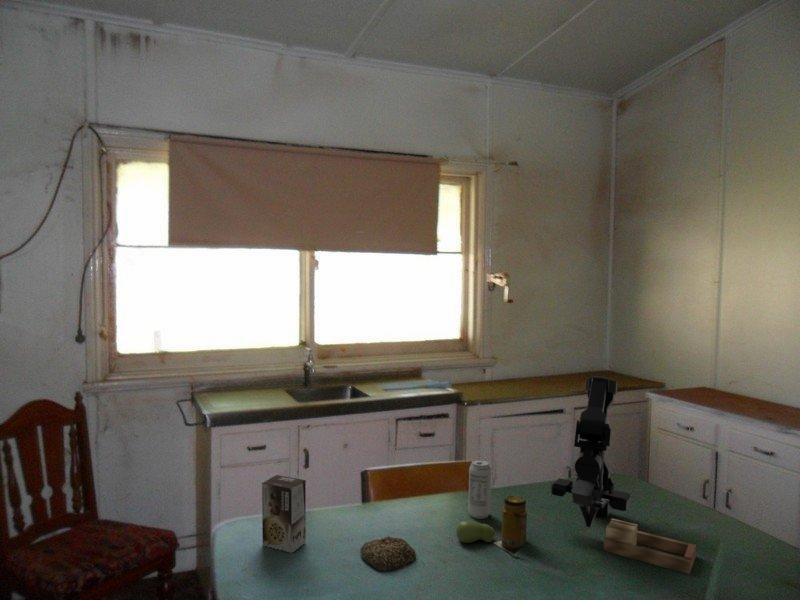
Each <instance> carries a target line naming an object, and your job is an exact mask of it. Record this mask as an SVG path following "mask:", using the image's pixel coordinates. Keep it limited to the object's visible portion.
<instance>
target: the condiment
mask: <svg viewBox="0 0 800 600" xmlns="http://www.w3.org/2000/svg"><path fill="white" fill-rule="evenodd" d="M503 502H504V504H503V508H502V511H501V512H502V513H501V536H500V537H501V540H498V541H495V542H493V544H494V545H496V546H497V547H499V548H500V549H502V550H504V551H506V552H507V553H509V554H510V555H512V556H513V557H515V558H517V557H518V556H516V555H515V554H516V553H518V551H519V550H521V548H522V547H523V546H524V545H526V543H527V526H528V525H527V521H528V512H527V510H526V509H527V506H526V503H527V501H526V499H525V498H524V497H522V496H518V495H508V496H505V498H504V500H503Z"/></svg>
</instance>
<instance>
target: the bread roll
mask: <svg viewBox="0 0 800 600" xmlns="http://www.w3.org/2000/svg"><path fill="white" fill-rule="evenodd" d="M360 554H361V557H362V559H363V560H364V561H365V562H366V563H367V564H369V565H370V566H372V567H373V568H375V569H376V570H379V571H381V572H382V571H383V572H384V571H393V570H396V569H400V568H403V567H405V566H406V565H409V564H410V563H412V562H414V561H415V559H416V556H417V553H416V550H415V549H414V548H413V547H412V546H411V545H410V544H409V543H408V542H407V541H406V540H405V539H403V538H397V537H393V536H390V535H389V536H385V537H381V538H377V539H373V540H371V541H370V540H369V541H366V542H365V543H364V544H362V547H361V548H360Z"/></svg>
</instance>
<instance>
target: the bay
mask: <svg viewBox="0 0 800 600" xmlns="http://www.w3.org/2000/svg"><path fill="white" fill-rule="evenodd" d="M637 544H639V545H642V546H639V545H632V544H628V543H624V542H620V541H616V540H613V539H609V538H606V537H604V539H603V549H602V550H603V551H604V552H608V553H611V554H614V555H619V556H623V557H626V558H629V559H633V560H636V561H640V562H645V563H648V564H651V565H655V566H659V567H663V568H666V569H670V570H674V571H677V572H681V573H684V574H689V575H690V574H691V572H692V569H693V566H694V563H695V559H696V557H697V555H696V554H697V544H694V543H689V542H686V541H681V540H676V539H672V538H669V537H665V536H661V535H658V534H652V533H649V532H645V531H640V530H637ZM643 546H645V547H643ZM647 547H650V548H647ZM651 548H653V549H651ZM654 549H658V550H654ZM659 550H661V551H659ZM662 551H666V552H670V553H672V554H669V553H666V552H662ZM674 554H677V555H680V556H683V557H680V556H677V555H674Z"/></svg>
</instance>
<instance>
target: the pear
mask: <svg viewBox="0 0 800 600" xmlns="http://www.w3.org/2000/svg"><path fill="white" fill-rule="evenodd" d="M455 533H456V536H457V539H458V540H459V541H460V542H461V543H465V544H472V543H473V542H477V541H478V540H482V541H484V542H486V543H492V542H493V540H494V537H495V536H496V534H495V530H494V527H491V526H490V525H489V524H487V523H480V522H478V521H475V520H468V519H467V520H461V521H460V522H459V523H458V524H457V526H456V530H455Z"/></svg>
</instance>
